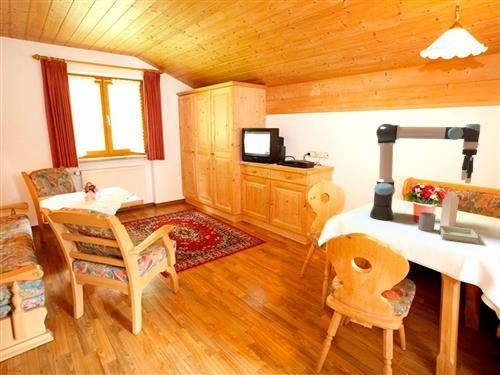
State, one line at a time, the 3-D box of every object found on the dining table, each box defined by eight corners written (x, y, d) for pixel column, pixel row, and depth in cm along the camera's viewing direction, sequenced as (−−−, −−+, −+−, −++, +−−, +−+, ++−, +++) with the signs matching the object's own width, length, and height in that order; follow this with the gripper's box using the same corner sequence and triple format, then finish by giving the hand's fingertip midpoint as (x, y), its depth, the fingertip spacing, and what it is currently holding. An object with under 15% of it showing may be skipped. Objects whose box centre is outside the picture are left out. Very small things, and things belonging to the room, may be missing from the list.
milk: (448, 227, 185) (452, 193, 181) (439, 224, 191) (443, 191, 186) (455, 226, 186) (460, 192, 182) (446, 223, 192) (450, 190, 188)
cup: (436, 232, 175) (437, 216, 174) (421, 231, 177) (422, 215, 175) (430, 227, 184) (432, 212, 182) (416, 227, 185) (417, 211, 183)
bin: (442, 239, 164) (442, 233, 163) (439, 230, 178) (439, 225, 177) (477, 244, 157) (478, 237, 156) (471, 234, 171) (472, 229, 170)
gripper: (482, 150, 174) (477, 185, 178) (472, 147, 196) (468, 179, 200) (467, 149, 177) (462, 184, 181) (459, 147, 199) (455, 178, 203)
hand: (465, 181), depth 190 cm, fingers open, 13 cm apart
